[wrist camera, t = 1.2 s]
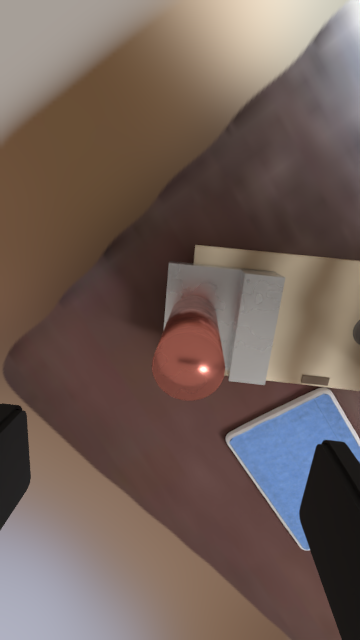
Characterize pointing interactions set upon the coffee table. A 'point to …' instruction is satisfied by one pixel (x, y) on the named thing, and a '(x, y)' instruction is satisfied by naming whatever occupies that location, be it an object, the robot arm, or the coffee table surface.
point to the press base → (307, 315)
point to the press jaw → (216, 328)
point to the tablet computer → (290, 450)
